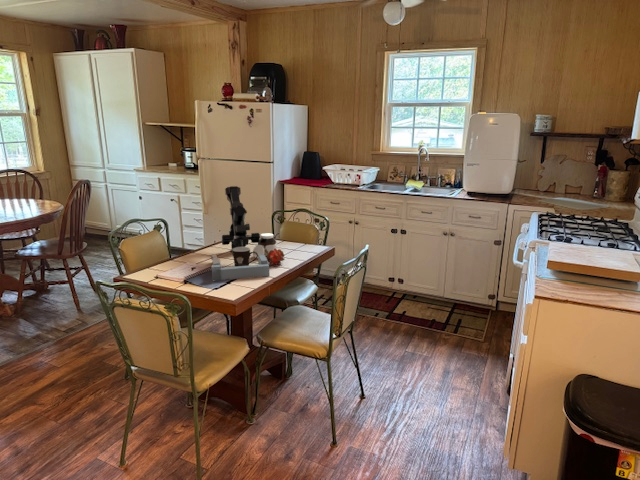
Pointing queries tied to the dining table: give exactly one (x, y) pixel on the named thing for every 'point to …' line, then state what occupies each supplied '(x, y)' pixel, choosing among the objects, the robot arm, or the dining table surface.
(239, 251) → the coffee mug
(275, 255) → the dragon fruit
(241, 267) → the vise
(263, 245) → the spread jar
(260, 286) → the dining table surface
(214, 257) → the sliding jaw
